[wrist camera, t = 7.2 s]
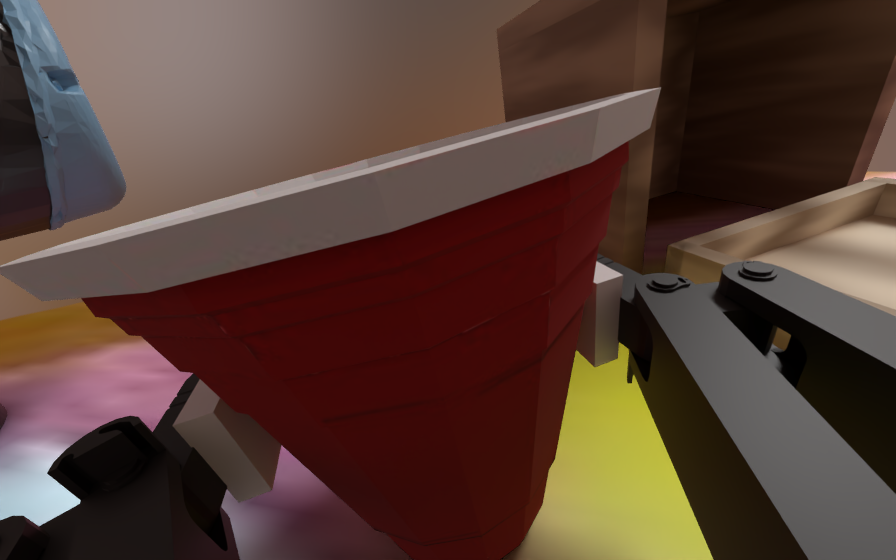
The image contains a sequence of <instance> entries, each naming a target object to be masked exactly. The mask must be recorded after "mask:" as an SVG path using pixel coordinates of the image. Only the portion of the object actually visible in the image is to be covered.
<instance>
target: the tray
mask: <svg viewBox="0 0 896 560" xmlns="http://www.w3.org/2000/svg"><path fill="white" fill-rule="evenodd" d="M742 261H752V262H753V261H761V262H763V263H768V264H773V265H776V266H779V267H782V268H785V269H787V270H790V271H792V272H794V273H797V274H799V275H801V276H804V277H806V278H808V279H810V280H813V281H815V282H817V283H820V284H822V285H824V286H827V287H829V288H831V289H834V290H836V291H838V292H841V293H843V294H845V295H848V296H850V297H852V298H854V299H857V300H859V301H861V302H864V303H866V304H868V305H871V306H873V307H875V308H878V309H880V310H882V311H885V312H887V313H889V314H891V315H894V316H896V179H889V178H878V177H875V178H872V179H869V180H865V181H862V182H859V183H856V184H853V185H850V186H847V187H844V188H841V189H838V190H835V191H832V192H829V193H826V194H822V195H819V196H816V197H813V198H810V199H807V200H804V201H801V202H798V203H795V204H792V205H789V206H786V207H783V208H779V209H776V210H773V211H770V212H767V213H764V214H761V215H758V216H755V217H752V218H749V219H746V220H743V221H739V222H736V223H733V224H730V225H727V226H724V227H721V228H718V229H715V230H712V231H709V232H706V233H703V234H700V235H696V236H693V237H690V238H687V239H684V240H681V241H678V242H675V243H672V244H669V245H668V247H667V255H666V262H665V270H664V273H669V274H676V275H679V276H682V277H685V278H688V279H689V280H691V281H692V282H694V283H695V284H703V283H711V282H719V281H720V277H721V272H722V269H723V268H724V267H725V265H727V264H730V263H734V262H742ZM790 337H791V335H790V334H788V333H787V332H785V331H783V330H782V329H780V328H778V329H777V332H776V335H775V338H774V341H773V345H775V346H776V347H778V348H780V349H782V350H785V349H786V348H787V346H788V343H789V340H790Z"/></svg>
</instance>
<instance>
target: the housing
mask: <svg viewBox="0 0 896 560" xmlns="http://www.w3.org/2000/svg"><path fill="white" fill-rule="evenodd" d="M497 39H498V49H499V58H500V69H501V79H502V89H503V100H504V109H505V119H506V122H510V121H514V120H518V119H521V118H525V117H529V116H533V115H537V114H541V113H545V112H549V111H553V110H557V109H561V108H565V107H569V106H573V105H577V104H581V103H585V102H589V101H593V100H597V99H602V98H606V97H610V96H614V95H619V94H624V93H630V92H635V91H641V90H647V89H654V88H660V87H661V90H660V94H659V97H658V101H657V105H656V108H655V112H654V115H653V119H652V123H651V126H650V128H649V129H648V130H646V131H644V132H642V133H641V134H639V135H637V136H636V137H634V138H632V139H631V140H629V160H628V161H627V162H626V163H625V164H624V165H623V166H622V169H621V176H620V183H619V187H618V188H617V189H616V190H615V191H614V192H613V193H612V200H611V206H610V213H609V220H608V227H607V233H606V236H605V237H604V238H603V239H602V241H601V242H600V243H599V248H598V254H600V255H603V256H604V257H605V258H606V257H607V258H609V259H611V260H613V261H614V263H615V262H617V263H619V264H621V265H623V266H625V267H627V268H629V269H631V270H633V271H635V272H637V273H639V274H641V275H642V264H643V254H644V243H645V233H646V222H647V212H648V201H649V199H651V198H654V197H657V196H661V195H664V194H668V193H671V192H674V191H679V192H684V193H690V194H695V195H701V196H706V197H712V198H717V199H722V200H728V201H733V202H739V203H744V204H750V205H755V206H760V207H766V208H771V209H779V208H783V207H786V206H789V205H792V204H795V203H798V202H801V201H804V200H807V199H810V198H813V197H816V196H819V195H822V194H826V193H829V192H832V191H835V190H838V189H841V188H844V187H847V186H850V185H853V184H856V183H859V182H862V181H863V179H864V177H865V174H866V172H867V169H868V167H869V164H870V161H871V159H872V156H873V154H874V151H875V149H876V146H877V144H878V141H879V138H880V136H881V133H882V131H883V128H884V126H885V123H886V120H887V118H888V115H889V113H890V110H891V107H892V105H893V103H894V100H895V97H896V0H540V1H538V2H537V3H536V4H534V5H532V6H531V7H530V8H528V9H527V10H525V11H524V12H522V13H521V14H519V15H518V16H516V17H515V18H513V19H512V20H510V21H509V22H507V23H506V24H504V25H503V26H501V27H500V28H498V29H497Z"/></svg>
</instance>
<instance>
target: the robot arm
mask: <svg viewBox="0 0 896 560" xmlns="http://www.w3.org/2000/svg"><path fill="white" fill-rule="evenodd" d="M78 82H79V81H78V79H77V77H76V75H75V73H74V71H73V69H72V67H71V65H70V63H69V61H68V58H67V56H66V54H65V52H64V50H63V48H62V46H61V44H60V42H59V40H58V38H57V36H56V34H55V32H54V30H53V28H52V26H51V24H50V23H49V20H48V19H47V17H46V15H45V13H44V11H43V9H42V7H41V6H40V4H39V2H38V1H37V0H0V241H1V240H6V239H10V238H14V237H18V236H22V235H26V234H30V233H34V232H38V231H42V230H46V229H49V230H55V229H57V228H60V227H62V226H63V225H64V223H66V222H70V221H73V220H76V219H80V218H83V217H87V216H90V215H93V214H97V213H100V212H104V211H107V210H110V209H112V208H113V207H115V206H116V205H117V204H119V203H120V201H121V200H122V199H123V197H124V195H125V192H126V183H125V180H124V177H123V174H122V171H121V169H120V167H119V164H118V162H117V160H116V158H115V155H114V153H113V151H112V149H111V146H110V144H109V142H108V140H107V138H106V136H105V134H104V132H103V130H102V127H101V125H100V123H99V121H98V119H97V117H96V115H95V113H94V111H93V109H92V107H91V105H90V103H89V101H88V99H87V97H86V95H85V93H84V91H83V90H82V89H81V87H80V85H79V83H78ZM778 328H780V329H782V330H783V331H785V332H787V333H788V334H790V335H791V337H790V340H789V343H788V346H787V348H786V349H785V350H782V349H780V348H778V347H776V346H775V345H773V341H774V338H775V335H776V332H777V329H778ZM619 342H620V343H622V344H623V345H624V346H625V347H627V348H628V349H629V359H628V371H627V382H628V383H632V377H633V375H635V377H636V380H637V382H638V384H639V387H640V389H641V391H642V394H643V396H644V398H645V401H646V403H647V405H648V408H649V410H650V412H651V415H652V417H653V419H654V422H655V424H656V426H657V429H658V431H659V433H660V436H661V438H662V440H663V443H664V445H665V447H666V450H667V452H668V454H669V457H670V459H671V461H672V464H673V466H674V468H675V471H676V473H677V475H678V478H679V480H680V482H681V485H682V487H683V489H684V492H685V494H686V496H687V499H688V501H689V503H690V506H691V508H692V510H693V513H694V515H695V517H696V520H697V522H698V524H699V527H700V529H701V531H702V534H703V536H704V538H705V541H706V543H707V545H708V548H709V550H710V552H711V555H712V557H713V559H714V560H896V316H894V315H891V314H889V313H887V312H885V311H882V310H880V309H878V308H875V307H873V306H871V305H868V304H866V303H864V302H861V301H859V300H857V299H854V298H852V297H850V296H848V295H845V294H843V293H841V292H838V291H836V290H834V289H831V288H829V287H827V286H824V285H822V284H820V283H817V282H815V281H813V280H810V279H808V278H806V277H804V276H801V275H799V274H797V273H794V272H792V271H790V270H787V269H785V268H782V267H779V266H776V265H773V264H768V263H763V262H761V261H753V262H752V261H742V262H734V263H730V264H727V265H725V267H724V268H723V269H722V272H721V277H720V281H719V282H711V283H703V284H695V283H694V282H692V281H691V280H689V279H688V278H685V277H682V276H679V275H676V274H669V273H652V274H646V275H641V274H639V273H637V272H635V271H633V270H631V269H629V268H627V267H625V266H623V265H621V264H619V263H617V262H615V263H614V261H613V260H611V259H609V258H607V257H606V258H605V257H604V256H603V255H600V254H598V255H597V261H596V268H595V275H594V281H593V288H592V293H591V294H590V296H589V297H588V298H587V299H586V301H585V305H584V310H583V315H582V320H581V325H580V331H579V336H578V341H577V346H576V350H577V351H578V352H579V353H580V354H581V355H582V356H584V357H585V358H586V359H587V360H588V361H589V362H590V363H591V364H592V365H593V366H594V367H596V366H599V365H602V364H604V363H607V362H610V361H612V360H615V359H617V358H618V346H619ZM169 407H170V409H167V411H166V412H165V414H164V415H163V417H162V418H161V420H160V422H159V423H158V425H157V426H156V428H155V429H154V431H153V433H152V431H151V430H150V429H149V428H148V427H147V426H146V425H145V424H144V423H143V422H142V421H141V419H140V418H139V417H135V416H127V417H123V418H119V419H116V420H113V421H111V422H109V423H107V424H104V425H102V426H100V427H98V428H97V429H95V430H93V431H92V432H90V433H88V434H87V435H85V436H83V437H82V438H81V439H79V440H78V441H77V442H75V443H74V444H73V445H71V446H70V447H69V448H68V449H66V450H65V451H64V452H63V453H62V454H61V455H60V456H59V457H58V458H57V459H56V460H55V461H54V463H53V464H52V466H51V468H50V469H49V471H48V473H47V474H49V475H50V476H51V477H52V478H54V479H55V480H56V481H57V482H59V483H60V484H61V485H62V486H64V487H65V488H66V489H67V490H69V491H70V492H71V493H72V494H74V495H75V496H76V497H77V498H79V499H80V500H81V502H80V504H79V505H77V506H75V507H74V508H72V509H70V510H68V511H66V512H64V513H63V514H61V515H59V516H57V517H55V518H54V519H52V520H50V521H48V522H46V523H45V524H43V525H41V526H37V525H36V524H35V523H33V522H32V521H30V520H29V519H27V518H26V517H24V516H11V517H8V518H6V519H3V520H0V560H240V559H239V554H238V550H237V546H236V542H235V538H234V534H233V530H232V526H231V522H230V518H229V516H228V515H227V513H226V512H225V511H224V510H223V509H222V508H221V504H222V501H223V498H224V495H225V492H226V489H228V491H229V492H230V493H231V494H232V495H233V496H234V498H235V499H236V500H237V501H238V502H239V503H240V502H242V501H245V500H247V499H250V498H253V497H255V496H258V495H261V494H263V493H266V492H268V491H271V490H272V488H273V483H274V479H275V474H276V469H277V464H278V459H279V454H280V449H281V444H280V443H279V442H278V441H277V440H276V439H274V438H273V437H272V436H271V435H270V434H269V433H268V432H267V431H266V430H265V429H263V428H262V427H261V426H260V425H259V424H258V423H257V422H256V421H255V420H254V419H252V418H251V417H250V416H249V415H247V414H241V413H236V412H235V411H234V410H233V409H232V408H231V407H230V406H229V405H227V404H226V403H225V402H224V401H223V400H222V399H221V398H220V397H219V396H218V395H217V394H216V393H214V392H213V391H212V390H211V389H210V388H209V387H208V386H207V385H206V384H205V383H204V382H203V381H201V380H200V379H199V378H198V377H197V376H196V375H195V374H194V373H193V374H192V375H191V376H190V377H189V378H188V379H187V380H186V381H185V383H184V384H183V386H182V387H181V389H180V390H179V392H178V394H177V397H175V398H174V400H173V401H172V403H171V404H170V406H169ZM6 417H7V410H6V408H5V407H4V406H2V405H1V404H0V429H1V427H2V425H3V424H4V422H5V420H6Z"/></svg>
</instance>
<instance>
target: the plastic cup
mask: <svg viewBox="0 0 896 560" xmlns="http://www.w3.org/2000/svg"><path fill="white" fill-rule="evenodd" d="M660 90H661V87H660V88H654V89H647V90H641V91H635V92H630V93H624V94H619V95H614V96H610V97H606V98H602V99H597V100H593V101H589V102H585V103H581V104H577V105H573V106H569V107H565V108H561V109H557V110H553V111H549V112H545V113H541V114H537V115H533V116H529V117H525V118H521V119H518V120H514V121H510V122H506V123H502V124H498V125H495V126H491V127H487V128H483V129H479V130H475V131H471V132H468V133H464V134H460V135H457V136H453V137H449V138H445V139H441V140H438V141H433V142H430V143H426V144H422V145H418V146H414V147H411V148H407V149H403V150H399V151H396V152H392V153H388V154H385V155H381V156H377V157H374V158H370V159H366V160H362V161H358V162H355V163H351V164H347V165H344V166H340V167H336V168H332V169H329V170H325V171H321V172H318V173H314V174H310V175H306V176H303V177H299V178H295V179H292V180H289V181H284V182H281V183H277V184H273V185H270V186H266V187H263V188H259V189H255V190H251V191H248V192H244V193H241V194H237V195H233V196H230V197H226V198H222V199H219V200H215V201H212V202H208V203H205V204H201V205H197V206H193V207H190V208H187V209H183V210H179V211H176V212H172V213H169V214H165V215H161V216H158V217H155V218H151V219H147V220H144V221H141V222H137V223H133V224H129V225H126V226H122V227H119V228H115V229H112V230H109V231H105V232H102V233H98V234H95V235H92V236H88V237H85V238H81V239H78V240H75V241H71V242H68V243H64V244H61V245H58V246H55V247H52V248H49V249H46V250H43V251H40V252H37V253H34V254H31V255H28V256H25V257H23V258H20V259H17V260H15V261H12V262H9V263H7V264H4V265H1V266H0V274H1V275H3V276H4V277H6V278H7V279H9V280H11V281H12V282H14V283H15V284H17V285H18V286H20V287H21V288H23V289H25V290H26V291H27V292H29V293H30V294H32V295H34V296H35V297H37V298H38V299H40V300H41V301H51V300H63V299H75V298H81V299H82V300H83V301H84V303H85V304H86V305H87V306H88V308H89V309H90V310H91V312H92V313H93V314H94V315H95V317H101V318H110V319H111V320H112V321H113V322H115V323H116V324H117V325H118V326H119V327H120V328H121V329H122V330H124V331H125V332H126V333H127V334H128V335H135V336H142V337H143V338H144V339H145V340H146V341H147V342H148V343H149V344H150V345H152V346H153V347H154V348H155V349H156V350H157V351H158V352H159V353H160V354H161V355H163V356H164V357H165V358H166V359H167V360H168V361H169V362H170V363H171V364H173V365H174V366H175V367H176V368H177V369H178V370H179V371H181V372H190V373H194V374H195V375H196V376H197V377H198V378H199V379H200V380H201V381H203V382H204V383H205V384H206V385H207V386H208V387H209V388H210V389H211V390H212V391H213V392H214V393H216V394H217V395H218V396H219V397H220V398H221V399H222V400H223V401H224V402H225V403H226V404H227V405H229V406H230V407H231V408H232V409H233V410H234V411H235V412H236V413H241V414H247V415H249V416H250V417H251V418H252V419H254V420H255V421H256V422H257V423H258V424H259V425H260V426H261V427H262V428H263V429H265V430H266V431H267V432H268V433H269V434H270V435H271V436H272V437H273V438H274V439H276V440H277V441H278V442H279V443H280V444H281V445H282V446H283V447H284V448H286V449H287V450H288V451H289V452H290V453H291V454H292V455H293V456H294V457H295V458H297V459H298V460H299V461H300V462H301V463H302V464H303V465H304V466H305V467H306V468H308V469H309V470H310V471H311V472H312V473H313V474H314V475H315V476H316V477H317V478H319V479H320V480H321V481H322V482H323V483H324V484H325V485H326V486H327V487H328V488H330V489H331V490H332V491H333V492H334V493H335V494H336V495H337V496H338V497H339V498H341V499H342V500H343V501H344V502H345V503H346V504H347V505H348V506H349V507H350V508H352V509H353V510H354V511H355V512H356V513H357V514H358V515H359V516H360V517H361V518H363V519H364V520H365V521H366V522H367V523H368V524H369V525H370V526H371V527H373V528H374V529H375V530H377V531H380V532H383V533H386V534H387V535H388V536H389V537H390V538H391V539H392V540H393V541H394V542H395V543H396V544H397V545H398V546H399V547H400V548H401V549H402V550H404V551H405V552H406V553H407V554H408V555H409V556H410V557H411V558H412V559H414V560H500V559H501V558H503V557H504V556H505V555H507V554H508V553H509V552H511V551H512V550H514V549H515V548H516V547H518V546H519V545H520V544H521V542H522V540H523V539H524V537H525V536H526V534H527V532H528V530H529V528H530V526H531V525H532V523H533V521H534V519H535V517H536V515H537V514H538V512H539V510H540V508H541V506H542V504H543V498H544V493H545V488H546V482H547V477H548V472H549V468H550V467H551V465H552V463H553V461H554V460H555V456H556V450H557V445H558V440H559V435H560V430H561V424H562V419H563V414H564V409H565V404H566V398H567V393H568V388H569V383H570V378H571V372H572V367H573V362H574V357H575V351H576V346H577V341H578V336H579V331H580V325H581V320H582V315H583V310H584V305H585V301H586V299H587V298H588V297H589V296H590V294H591V293H592V288H593V281H594V275H595V268H596V261H597V255H598V248H599V243H600V242H601V241H602V239H603V238H604V237H605V236H606V233H607V227H608V220H609V213H610V206H611V200H612V193H613V192H614V191H615V190H616V189H617V188H618V187H619V183H620V176H621V169H622V166H623V165H624V164H625V163H626V162H627V161H628V160H629V140H631V139H632V138H634V137H636V136H637V135H639V134H641V133H642V132H644V131H646V130H648V129H649V128H650V126H651V123H652V119H653V115H654V112H655V108H656V105H657V101H658V97H659V94H660Z"/></svg>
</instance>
